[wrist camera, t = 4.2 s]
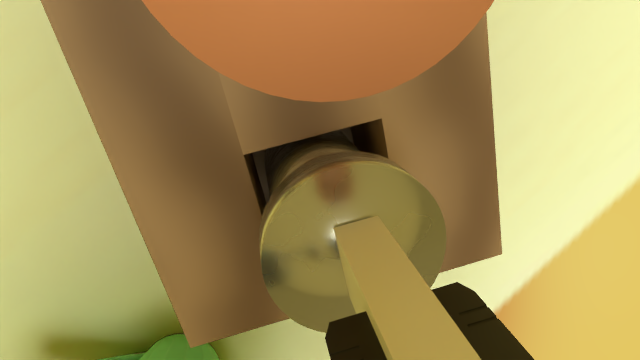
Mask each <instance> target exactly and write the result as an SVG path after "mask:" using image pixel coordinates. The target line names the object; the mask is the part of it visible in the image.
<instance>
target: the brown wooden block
mask: <svg viewBox="0 0 640 360" xmlns="http://www.w3.org/2000/svg"><path fill="white" fill-rule="evenodd" d="M41 2H42V5H43V7H44V9H45V12H46V14H47V16H48V19H49V21H50V23H51V26H52V28H53V30H54V33H55V35H56V37H57V40H58V42H59V44H60V46H61V49H62V51H63V53H64V56H65V58H66V60H67V63H68V65H69V67H70V70H71V72H72V74H73V77H74V79H75V81H76V84H77V86H78V88H79V91H80V93H81V95H82V97H83V100H84V102H85V104H86V107H87V109H88V111H89V114H90V116H91V118H92V121H93V123H94V125H95V128H96V130H97V132H98V135H99V137H100V139H101V142H102V144H103V146H104V148H105V151H106V153H107V155H108V158H109V160H110V162H111V165H112V167H113V169H114V172H115V174H116V176H117V179H118V181H119V183H120V186H121V188H122V190H123V193H124V195H125V197H126V199H127V202H128V204H129V206H130V209H131V211H132V213H133V216H134V218H135V220H136V223H137V225H138V227H139V230H140V232H141V234H142V237H143V239H144V241H145V244H146V246H147V248H148V250H149V253H150V255H151V257H152V260H153V262H154V264H155V267H156V269H157V271H158V274H159V276H160V278H161V281H162V283H163V285H164V288H165V290H166V292H167V295H168V297H169V299H170V301H171V304H172V306H173V308H174V311H175V313H176V315H177V318H178V320H179V322H180V325H181V327H182V329H183V332H184V334H185V336H186V339H187V341H188V343H189V346H190V348H193V347H196V346H199V345H203V344H206V343H209V342H213V341H216V340H219V339H222V338H226V337H229V336H232V335H236V334H239V333H242V332H246V331H249V330H252V329H256V328H259V327H262V326H265V325H269V324H272V323H275V322H279V321H282V320H285V319H289V318H290V317H288V316H287V315H286V314H285V313H284V312H283V311H281V310H280V308H279V307H278V306H277V305H276V304H275V302H274V301H273V299H272V298H271V296H270V294H269V293H268V290H267V288H266V285H265V283H264V279H263V274H262V268H261V257H260V246H259V228H260V223H261V218H262V215H263V212H264V209H265V206H266V204H267V203H268V201H269V199H270V194H269V188H268V183H267V177H266V172H265V164H264V161H265V153H266V150H267V148H271V147H275V146H279V145H282V144H286V143H290V142H294V141H298V140H301V139H305V138H309V137H313V136H317V135H320V134H324V133H328V132H332V131H335V130H340V131H341V132H342V133H343V134H344V135H345V136H346V137H347V138H348V139H349V140H350V141H351V142H352V143H353V144H354V145H355V146H356V147H357V148H358V149H359V150H360V151H364V152H369V153H374V154H377V155H380V156H383V157H386V158H388V159H390V160H392V161H394V162H395V163H397V164H398V165H399V166H401V167H402V168H404V169H405V170H406V171H407V172H408V173H409V174H411V175H412V176H413V177H414V178H415V179H416V180H417V181H419V182H420V183H421V184H422V185H423V186H424V187H425V188H426V189H427V190H428V191H429V192H430V193H431V195H432V196H433V197H434V199H435V200H436V202H437V204H438V206H439V207H440V209H441V212H442V215H443V218H444V222H445V227H446V239H447V241H446V251H445V255H444V260H443V263H442V266H441V269H440V271H439V273H441V272H444V271H447V270H451V269H454V268H457V267H461V266H464V265H467V264H471V263H474V262H477V261H481V260H484V259H487V258H491V257H494V256H497V255H500V254H502V245H501V230H500V215H499V200H498V184H497V169H496V154H495V138H494V123H493V108H492V93H491V77H490V62H489V47H488V32H487V16H486V13H485V14H484V16H483V17H482V18H481V20H480V21H479V22H478V24H477V25H476V26H475V27H474V29H473V30H472V31H471V32H470V33H469V34H468V35H467V36H466V37H465V38H464V39H463V40H462V41H461V42H460V44H459V45H458V46H457V47H456V48H455V49H453V50H452V51H451V52H450V53H449V54H447V55H446V56H445V57H444V58H443V59H441V60H440V61H439V62H438V63H437V64H435V65H434V66H432V67H431V68H429V69H428V70H426V71H424V72H423V73H421V74H420V75H418V76H417V77H415V78H413V79H411V80H409V81H407V82H405V83H403V84H401V85H399V86H397V87H395V88H392V89H390V90H387V91H383V92H380V93H377V94H374V95H371V96H368V97H363V98H357V99H352V100H347V101H333V102H312V101H299V100H292V99H287V98H283V97H278V96H273V95H269V94H266V93H264V92H261V91H258V90H255V89H252V88H250V87H247V86H244V85H242V84H240V83H238V82H236V81H234V80H232V79H230V78H228V77H226V76H224V75H222V74H221V73H219V72H217V71H216V70H214V69H213V68H211V67H210V66H208V65H207V64H206V63H204V62H203V61H201V60H200V59H198V58H197V57H195V56H194V55H193V54H192V53H191V52H189V51H188V50H187V49H186V48H185V47H184V46H183V45H181V44H180V43H179V42H178V41H177V40H176V39H175V38H173V37H172V36H171V35H170V33H169V32H168V31H167V30H166V29H165V28H164V27H163V26H162V25H161V24H160V22H159V21H158V20H157V19H156V18H155V17H154V16H153V15H152V14H151V13H150V11H149V10H148V8H147V7H146V6H145V4H144V3H143V1H142V0H41Z"/></svg>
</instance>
